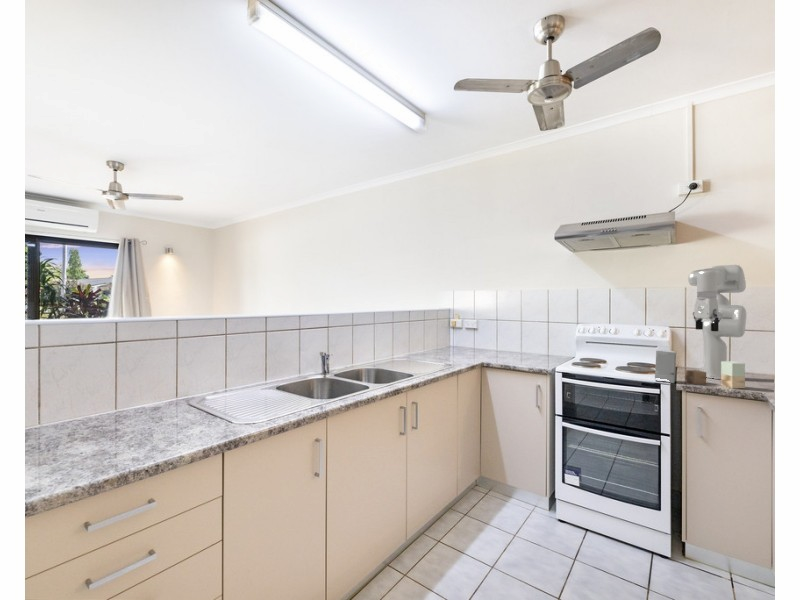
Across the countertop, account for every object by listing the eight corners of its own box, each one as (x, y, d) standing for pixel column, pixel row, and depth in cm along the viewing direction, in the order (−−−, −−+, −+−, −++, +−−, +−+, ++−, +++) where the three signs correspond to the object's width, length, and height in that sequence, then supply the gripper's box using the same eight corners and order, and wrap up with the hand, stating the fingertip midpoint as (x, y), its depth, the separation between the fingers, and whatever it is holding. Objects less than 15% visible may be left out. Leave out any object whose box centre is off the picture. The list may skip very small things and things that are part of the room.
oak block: (721, 386, 182) (721, 373, 182) (733, 386, 182) (733, 373, 182) (732, 389, 176) (732, 376, 176) (744, 389, 176) (745, 376, 176)
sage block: (721, 373, 182) (721, 361, 182) (733, 373, 182) (733, 361, 182) (732, 376, 176) (732, 363, 176) (745, 376, 176) (745, 363, 176)
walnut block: (684, 381, 192) (685, 369, 192) (696, 381, 192) (696, 369, 192) (694, 384, 186) (694, 372, 186) (706, 384, 186) (706, 372, 186)
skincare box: (654, 381, 192) (654, 350, 192) (656, 379, 197) (656, 349, 197) (675, 383, 186) (675, 351, 186) (676, 381, 192) (676, 350, 192)
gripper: (686, 295, 194) (686, 328, 194) (712, 295, 176) (712, 331, 177) (701, 295, 193) (701, 328, 194) (729, 295, 176) (729, 331, 176)
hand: (706, 330), depth 185 cm, fingers open, 9 cm apart
